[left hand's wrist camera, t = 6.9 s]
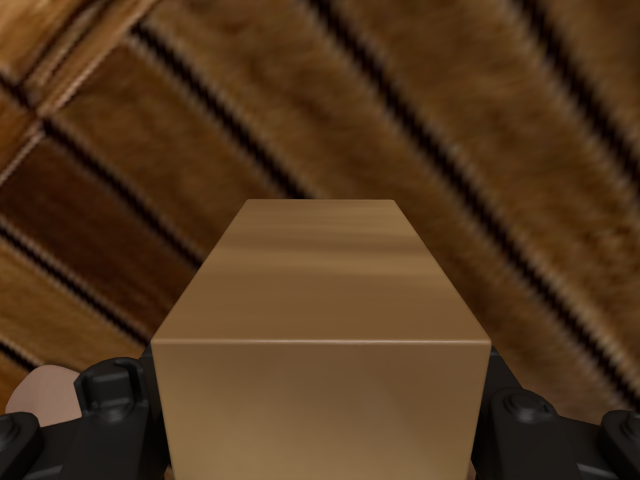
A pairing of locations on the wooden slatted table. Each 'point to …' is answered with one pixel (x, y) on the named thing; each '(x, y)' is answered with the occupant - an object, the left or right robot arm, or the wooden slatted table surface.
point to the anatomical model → (47, 395)
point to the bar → (320, 352)
